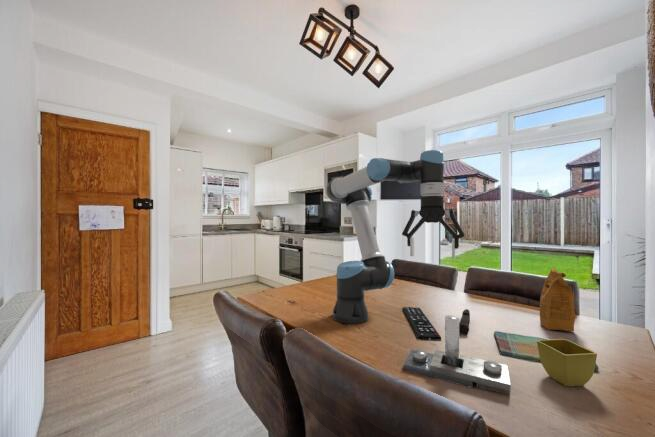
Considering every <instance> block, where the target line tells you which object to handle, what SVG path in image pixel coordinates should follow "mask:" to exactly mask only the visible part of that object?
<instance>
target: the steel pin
mask: <svg viewBox="0 0 655 437" xmlns="http://www.w3.org/2000/svg"><path fill="white" fill-rule="evenodd" d="M444 320H445V322H444V323H445V326H444V327H445V329H444V332H445V333H444V342H445V346H444V347H445V349H444V352H445V365H449V366H453V367H457V368H459V355H460V334H459V323H460V317H458V316H455V315H445V317H444Z"/></svg>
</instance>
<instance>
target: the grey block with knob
mask: <svg viewBox="0 0 655 437" xmlns="http://www.w3.org/2000/svg"><path fill="white" fill-rule="evenodd" d="M433 354H434V355H433V358H432V361H431V364H430V371H433V372H437V373H441V374H444V375H448V376H452V377H456V378H460V379H464V380H468V381H472V383H476V387H477V388H480V389H485V390H488V391H492V390H493V392H496V391H497V392H496V393H500V392H501V393H500V394H504V395H507V394H508V396H510V395H511V380H510V373H509V367H508V365H507V364H504V363H499V362H496V361H492V360H484V359H481V358H475V357H472V356H471V357H470V356H466V355H463V354H459V364H462V365H463V369H462V368H457V367H453V366H449V365H445V364H442V361H443V360H445V350H439V349H435V350H434V353H433Z"/></svg>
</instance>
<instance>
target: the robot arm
mask: <svg viewBox="0 0 655 437" xmlns="http://www.w3.org/2000/svg"><path fill="white" fill-rule="evenodd" d="M444 165H445V161H444V152H443V151H441V150H438V149H431V150H425V151H422V152H421V153H420V157H419V159H418V160H414V161H405V160H397V159H389V158H384V157H383V158H382V157H374V158H373V157H372V159H370V160H369V162H368V163H367V166H365V167H362V168H360V169H358V170H356V171H354V172H351V173H349V174H348V175H345V176H343V177H336V178H334V179H331V180H330V181H329V182H328V183H327V185H326V188H325V191H326V192H325V193H326V196H327V198H328V199H329V200H330V201H331V202H333V203H335V204H341V205H342V204H343V205H344V204H345V206H346V209H347V211H349V212H350V213H351V217H352V222H353V227H354V231H355V235H356V239H357V243H358V247H359V251H360V254H361V258H360V260H349V261H344V262H342V263H339V264H338V265H337V266H336V267H337V268H336V275H335V276H336V300H335V303H334V308H333V310H332V319H334V321H336V322H339V323H343V324H351V325H352V324H355V325H356V324H362V323H365V322H367V321H368V320H369V310H368V308H367V305H366V301H365V292H366V291H367V292H368V291H373V290H382V289H385V288H388V287H390V286H391V285H392V284H393V282H394V279H395V270H394V269H395V268H394V266H393V265H392V263H391V262H390V261H387V260H386V258H385V255H383V254H381V251H380V248H379V244H378V240H377V237H376V233H375V230H374V226H373V221H372V219H371V215H370V212H369V211H370V210H369V206H370V204H371V201H372V195H373V192H372V187H371V186H373V185H377V184H379V183H383V182H385V181H387V182H397V183H399V184H411V183H414V182H415V183H416V182H420V196H421V197H420V209H419V210H414V209H412V210H411V212H410V217H409V219H408V221H407V223H406V224H405V227H404V228H403V231H402V233H401V235H402V236H403V237H406V238H407V247H410V248H409V250H410V251H409V254H410V255H409V256H410V257H414V256H415V237H413V235H415V234H416V233H417V232H418V230H419V229H420V228H421V227H422V226H423V224H425V223H428V224H429V223H433V224H436V223H440V224H441V225H442V226H443V227H444V228H445V229H446V230H447V232H448V233H449V234H450V235H451V237H452V239H451V259H454V260H455V259H456V250H457V249H459V246H460V242H459V241H460V240H459V239H461V238H465V236H466V234H465V232H464V231H463V229H462V227H461V225H460V223H459V221H458V220H457V217H456V216H455V211H454V209H446V210H445V208H444V207H445V206H444V203H445V198H444V196H443V195H444V190H445V189H444V188H445V186H444V185H445V184H444V170H445V168H444ZM418 215H420V217H421V218H420V220H419V221H418V222H417V223H416V224H415V226H414V227H412V225H413V223H414V221H415V219H416V217H417V216H418ZM445 215H447V216H448V217H450V219H451V221H452V224H453V225H454V227H455V229H456V231H457V232H456V231H455V230H454V229H453V228H452V227H451V226H450V224H448V222H446V220H445V219H444V218H443V217H444V216H445ZM411 227H412V229H411ZM410 229H411V230H410ZM457 233H458V234H457Z"/></svg>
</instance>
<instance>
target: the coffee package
mask: <svg viewBox="0 0 655 437" xmlns="http://www.w3.org/2000/svg"><path fill="white" fill-rule="evenodd" d="M566 277H567V274H565V273H563V272H559V271H558V270H557V269H556V268H554V267H553V268H551V269H550V272H549V273H548V275H547V277H546V278H545V280H544V283H543V286H542V291H541V293H540V297H539V321H540V324H541V326H542V327H543V328H545V329H547V330H549V331H563V332H574V331H575V321H576V313H575V293H574V292H573V290H572V288H571V287H570V286H569V285H568V283H567V281H565V278H566Z"/></svg>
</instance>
